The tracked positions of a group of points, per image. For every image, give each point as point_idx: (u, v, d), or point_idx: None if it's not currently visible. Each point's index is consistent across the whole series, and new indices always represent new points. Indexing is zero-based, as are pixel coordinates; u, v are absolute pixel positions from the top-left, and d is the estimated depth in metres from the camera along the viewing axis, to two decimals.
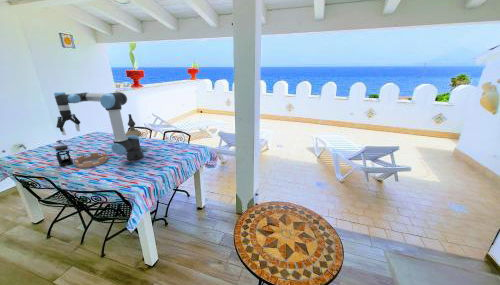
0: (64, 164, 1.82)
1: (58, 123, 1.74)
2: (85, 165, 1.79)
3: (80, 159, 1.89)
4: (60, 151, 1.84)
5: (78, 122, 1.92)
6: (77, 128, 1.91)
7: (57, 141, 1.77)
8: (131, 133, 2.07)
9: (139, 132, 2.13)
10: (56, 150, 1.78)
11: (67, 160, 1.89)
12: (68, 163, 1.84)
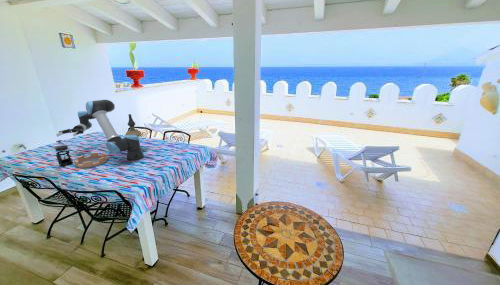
0: (64, 164, 1.82)
1: None
2: (85, 165, 1.79)
3: (80, 159, 1.89)
4: (60, 151, 1.84)
5: (80, 131, 1.94)
6: None
7: (57, 141, 1.77)
8: (131, 133, 2.07)
9: (139, 132, 2.13)
10: (56, 150, 1.78)
11: (67, 160, 1.89)
12: (68, 163, 1.84)
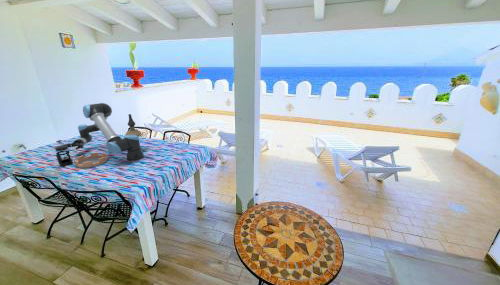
0: (64, 164, 1.82)
1: None
2: (85, 165, 1.79)
3: (80, 159, 1.89)
4: (60, 151, 1.84)
5: (80, 146, 1.94)
6: None
7: (57, 141, 1.77)
8: (131, 133, 2.07)
9: (139, 132, 2.13)
10: (56, 150, 1.78)
11: (67, 160, 1.89)
12: (68, 163, 1.84)
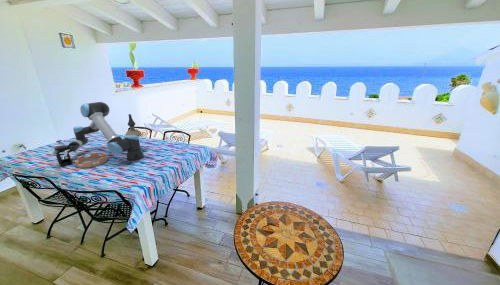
0: (64, 164, 1.82)
1: None
2: (85, 165, 1.79)
3: (80, 159, 1.89)
4: (60, 151, 1.84)
5: (72, 149, 1.86)
6: None
7: (57, 141, 1.77)
8: (131, 133, 2.07)
9: (139, 132, 2.13)
10: (56, 150, 1.78)
11: (67, 160, 1.89)
12: (68, 163, 1.84)
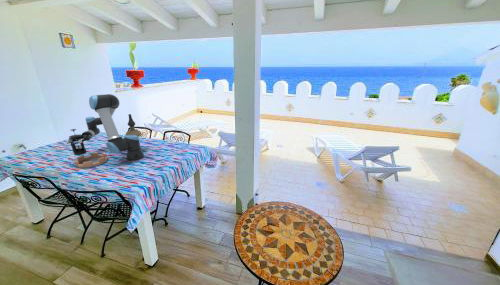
0: (78, 153, 1.83)
1: None
2: (85, 165, 1.79)
3: (80, 159, 1.89)
4: (74, 140, 1.85)
5: (86, 138, 1.86)
6: None
7: (71, 130, 1.78)
8: (131, 133, 2.07)
9: (139, 132, 2.13)
10: None
11: (81, 149, 1.90)
12: (82, 152, 1.85)
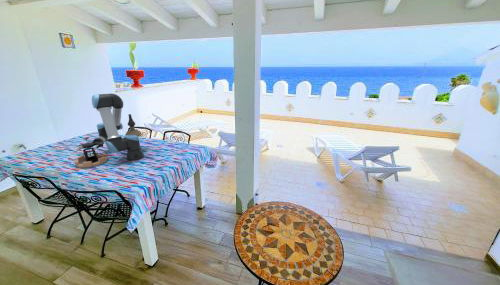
0: None
1: None
2: (85, 165, 1.79)
3: (80, 159, 1.89)
4: None
5: (101, 145, 1.91)
6: None
7: (84, 139, 1.81)
8: (131, 133, 2.07)
9: (139, 132, 2.13)
10: (83, 147, 1.82)
11: (92, 157, 1.94)
12: (94, 160, 1.88)
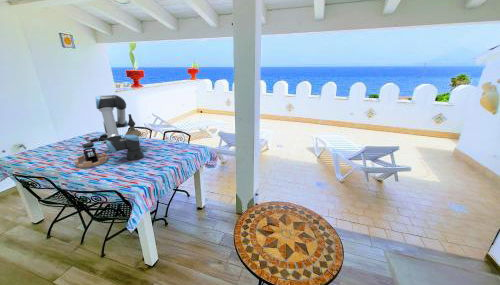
0: None
1: None
2: (85, 165, 1.79)
3: (80, 159, 1.89)
4: None
5: None
6: None
7: None
8: (131, 133, 2.07)
9: (139, 132, 2.13)
10: (83, 147, 1.82)
11: (92, 157, 1.94)
12: (94, 160, 1.88)
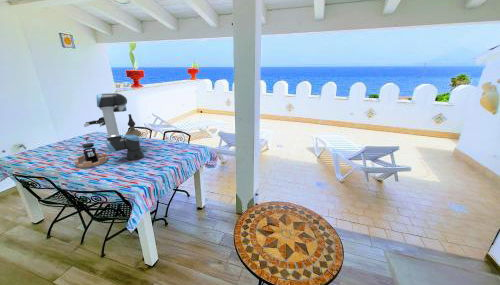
0: None
1: None
2: (85, 165, 1.79)
3: (80, 159, 1.89)
4: None
5: None
6: None
7: None
8: (131, 133, 2.07)
9: (139, 132, 2.13)
10: (83, 147, 1.82)
11: (92, 157, 1.94)
12: (94, 160, 1.88)
